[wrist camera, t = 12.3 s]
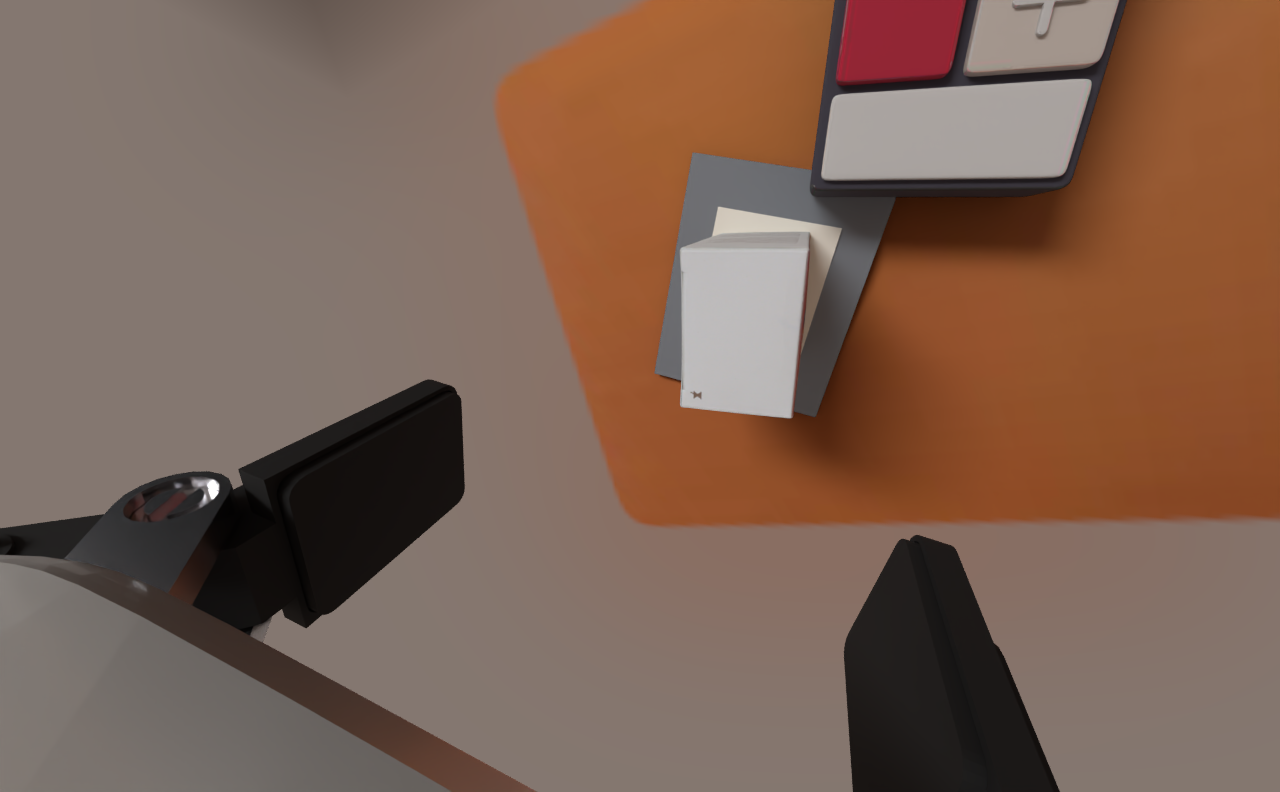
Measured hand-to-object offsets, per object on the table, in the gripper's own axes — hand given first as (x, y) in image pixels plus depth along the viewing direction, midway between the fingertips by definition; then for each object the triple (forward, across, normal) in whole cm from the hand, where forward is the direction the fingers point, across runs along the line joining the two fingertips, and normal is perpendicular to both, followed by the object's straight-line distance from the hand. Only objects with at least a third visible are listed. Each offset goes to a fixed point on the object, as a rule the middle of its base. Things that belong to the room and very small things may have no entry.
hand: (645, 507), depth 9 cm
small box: (+24, 0, 0) cm, 24 cm away
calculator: (+24, -6, -14) cm, 29 cm away
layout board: (+24, 0, 0) cm, 24 cm away
